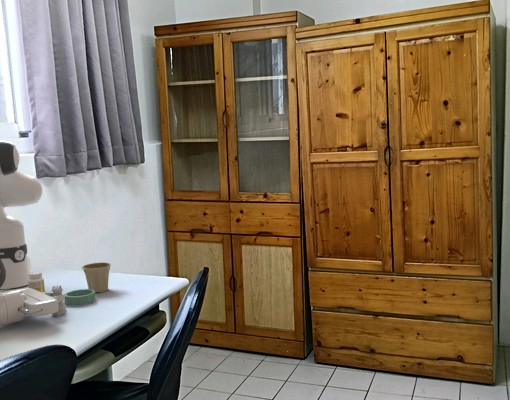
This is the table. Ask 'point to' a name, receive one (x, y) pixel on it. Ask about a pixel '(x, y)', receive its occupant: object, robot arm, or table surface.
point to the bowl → (79, 297)
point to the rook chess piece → (62, 306)
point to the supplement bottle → (36, 281)
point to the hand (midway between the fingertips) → (60, 295)
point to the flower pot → (97, 276)
